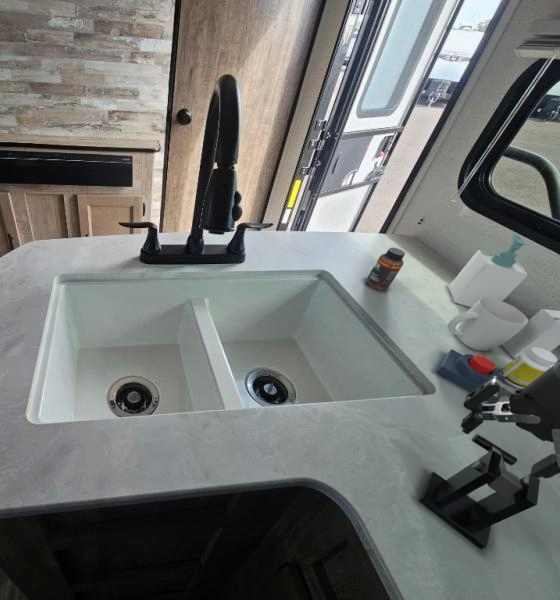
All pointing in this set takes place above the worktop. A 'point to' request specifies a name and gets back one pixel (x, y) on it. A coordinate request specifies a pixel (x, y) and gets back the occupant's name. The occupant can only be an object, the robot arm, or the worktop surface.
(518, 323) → the mug
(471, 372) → the button housing
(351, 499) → the worktop surface
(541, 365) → the supplement bottle
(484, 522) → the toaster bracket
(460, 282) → the soap bottle
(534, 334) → the cosmetic box
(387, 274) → the supplement bottle
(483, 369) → the button
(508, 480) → the lever
